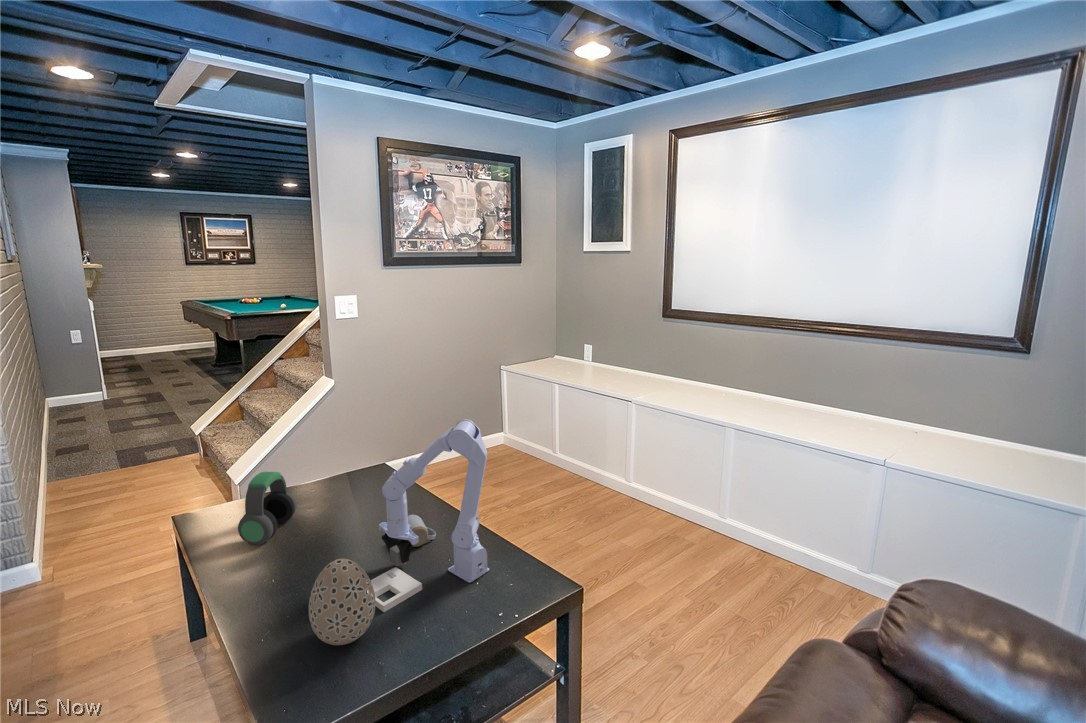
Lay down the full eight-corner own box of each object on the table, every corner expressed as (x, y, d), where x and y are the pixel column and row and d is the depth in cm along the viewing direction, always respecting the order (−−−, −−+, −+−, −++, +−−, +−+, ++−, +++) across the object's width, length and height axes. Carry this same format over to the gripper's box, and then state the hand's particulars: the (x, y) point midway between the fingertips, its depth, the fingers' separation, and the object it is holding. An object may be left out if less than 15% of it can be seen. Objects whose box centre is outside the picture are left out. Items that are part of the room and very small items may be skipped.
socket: (422, 589, 143) (421, 582, 142) (384, 612, 134) (383, 605, 133) (395, 572, 150) (395, 566, 150) (358, 593, 141) (357, 586, 141)
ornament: (356, 608, 135) (350, 537, 131) (389, 634, 126) (385, 559, 122) (300, 640, 124) (292, 564, 120) (332, 671, 115) (325, 590, 111)
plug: (409, 562, 153) (408, 547, 152) (398, 568, 150) (397, 553, 149) (401, 558, 155) (400, 542, 154) (390, 563, 153) (389, 548, 152)
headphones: (271, 547, 163) (265, 487, 158) (236, 547, 163) (229, 487, 159) (300, 517, 181) (295, 463, 177) (269, 517, 181) (263, 462, 177)
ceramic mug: (407, 551, 161) (406, 528, 159) (399, 539, 168) (398, 517, 166) (440, 542, 167) (439, 519, 165) (430, 530, 173) (430, 509, 172)
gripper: (425, 517, 149) (427, 560, 152) (391, 503, 157) (393, 545, 160) (406, 527, 143) (409, 572, 146) (371, 513, 151) (374, 555, 154)
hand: (399, 558), depth 153 cm, fingers closed on plug, 4 cm apart
